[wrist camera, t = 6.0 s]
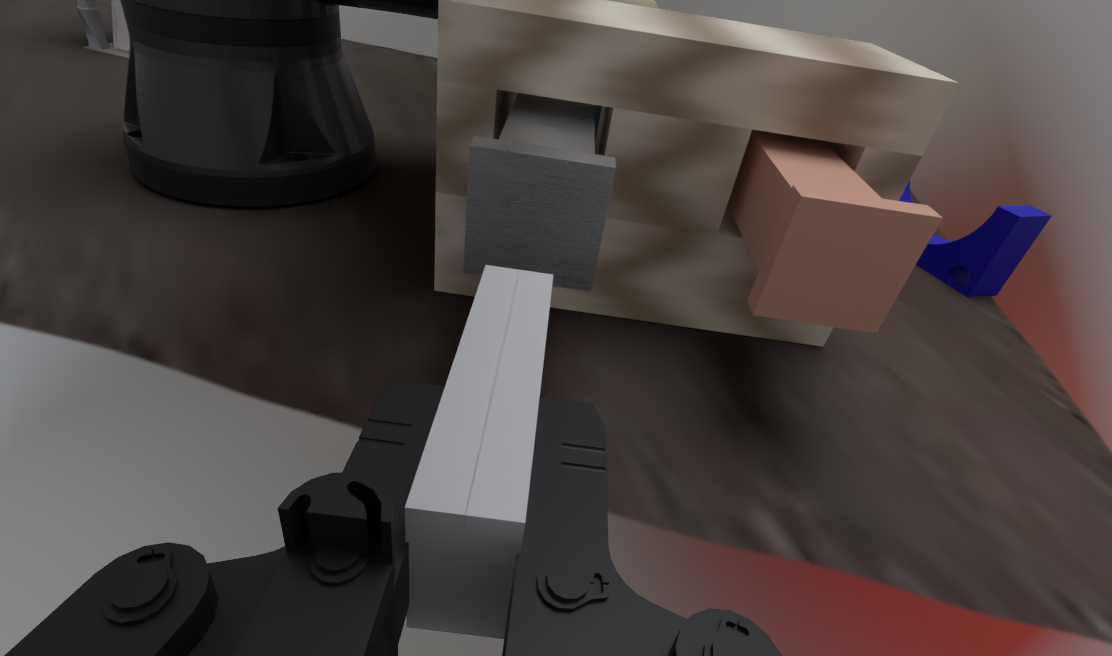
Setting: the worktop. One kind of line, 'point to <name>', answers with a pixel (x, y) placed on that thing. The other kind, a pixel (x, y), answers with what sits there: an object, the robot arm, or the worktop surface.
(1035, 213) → the blue curved cradle
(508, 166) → the grey plug
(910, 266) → the terracotta plug
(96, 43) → the skyscraper
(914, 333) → the worktop surface
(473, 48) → the housing
